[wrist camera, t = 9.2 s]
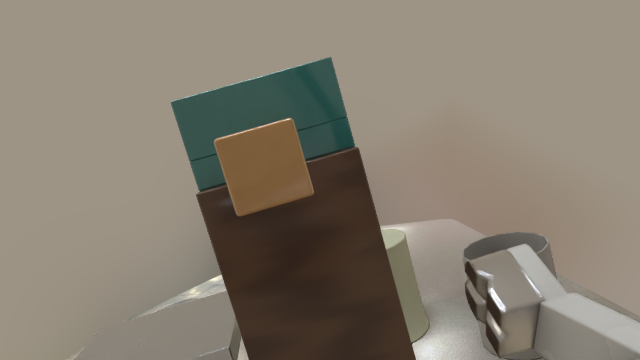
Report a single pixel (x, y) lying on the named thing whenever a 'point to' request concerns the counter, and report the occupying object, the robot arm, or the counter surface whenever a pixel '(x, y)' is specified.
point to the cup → (503, 243)
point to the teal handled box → (264, 134)
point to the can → (405, 282)
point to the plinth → (311, 270)
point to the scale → (172, 334)
